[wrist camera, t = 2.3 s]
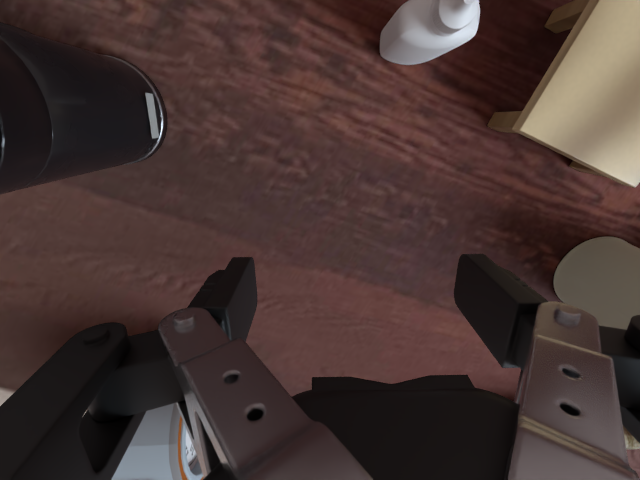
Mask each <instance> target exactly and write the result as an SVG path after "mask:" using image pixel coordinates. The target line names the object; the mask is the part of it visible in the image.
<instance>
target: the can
mask: <svg viewBox="0 0 640 480" xmlns="http://www.w3.org/2000/svg"><path fill="white" fill-rule="evenodd" d="M553 283H554V290H555V292H556V294H557V296H558V297H559V299H560V300H561V301H563V302H564V303H566V304H569V305H573V306H576V307H578V308H581V309H583V310H585V311H587V312H588V313H590V314H591V315H593V316H594V317H595V318H596V319H597V321H598V324H599V325H600V326H606V327H613V328H619V329H625V330H627V328H628V325H629V323H630V320H631V318H632V317H633V316H636V315H640V248H637V247H635V246H633V245H631V244H629V243H628V242H626V241H624V240H622V239H619V238H616V237H598V238H594V239H590V240H588V241H585V242H583V243H581V244H579V245H578V246H576V247H575V248H573V249H572V250H571V251H570V252H569V253H567V254H566V256H565V257H564V258H563V259H562V260H561V262H560V263H559V265H558V267H557V269H556V271H555V275H554V281H553Z"/></svg>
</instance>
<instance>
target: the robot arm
mask: <svg viewBox="0 0 640 480" xmlns="http://www.w3.org/2000/svg"><path fill="white" fill-rule="evenodd" d="M166 130H167V113H166V108H165V104H164V101H163V99H162V96H161V94H160V92H159V91H158V89H157V87H156V86H155V84H154V83H153V82H152V81H151V79H150V78H149V77H148V76H147V75H146V74H145V73H144V72H143V71H141V70H140V69H139V68H137V67H136V66H134V65H133V64H131V63H129V62H127V61H125V60H122V59H119V58H116V57H112V56H108V55H101V54H98V53H94V52H91V51H88V50H84V49H81V48H77V47H74V46H70V45H67V44H64V43H60V42H57V41H53V40H50V39H46V38H43V37H39V36H36V35H34V34H32V33H29V32H27V31H25V30H22V29H20V28H18V27H14V26H11V25H8V24H4V23H1V22H0V194H4V193H8V192H12V191H15V190H20V189H24V188H28V187H32V186H36V185H40V184H44V183H48V182H53V181H57V180H61V179H65V178H69V177H73V176H77V175H81V174H85V173H90V172H94V171H98V170H102V169H106V168H110V167H115V166H119V165H122V164H132V163H136V162H139V161H142V160H145V159H147V158H149V157H150V156H152V155H153V154H154V153H155V152H156V151H157V150H158V149H159V147H160V146H161V144H162V143H163V140H164V138H165V135H166ZM454 298H455V303H456V305H457V307H458V308H459V310H460V311H461V312H462V314H463V315H464V316H465V318H466V319H467V320H468V322H469V323H470V324H471V326H472V327H473V329H474V330H475V331H476V333H477V334H478V335H479V337H480V338H481V339H482V341H483V342H484V343H485V345H486V346H487V348H488V349H489V350H490V352H491V353H492V354H493V356H494V357H495V358H496V360H497V361H498V363H499V364H500V365H501V367H502V368H519V367H520V368H521V372H520V376H519V380H518V385H517V389H516V394H515V398H514V402H513V401H511V400H509V399H507V398H505V397H503V396H500V395H498V394H495V393H492V392H490V391H486V390H482V389H479V388H474V386H473V384H472V382H471V381H470V379H469V377H468V375H430V376H425V377H421V378H417V379H412V380H408V381H404V382H400V383H396V384H387V383H381V382H376V381H371V380H365V379H360V378H354V377H312V390H309V391H305V392H302V393H299V394H297V395H295V396H293V397H291V396H290V395H289V393H288V392H287V391H286V390H285V389H284V387H283V386H282V385H281V384H280V383H279V382H278V380H277V379H276V378H275V377H274V376H273V374H272V373H271V372H270V371H269V370H268V368H267V367H266V366H265V365H264V364H263V363H262V361H261V360H260V359H259V358H258V357H257V355H256V354H255V353H254V352H253V351H252V349H251V348H250V347H249V346H248V345H247V343H246V338H247V335H248V332H249V329H250V326H251V323H252V320H253V317H254V314H255V311H256V307H257V287H256V277H255V267H254V260H253V258H252V257H234V258H232V259H231V261H230V262H229V264H228V266H227V267H226V269H225V270H218V271H216V272H215V273H213V274H212V275H210V276H209V277H208V278H207V280H206V281H205V283H204V285H203V286H202V287H201V289H200V292H198V293H197V294H196V296H195V297H194V299H193V300H192V302H191V303H190V305H189V306H188V307H187V308H185V309H181V310H178V311H175V312H173V313H171V314H169V315H167V316H166V317H165V318H163V319H162V320H161V322H160V323H159V325H158V330H156V331H152V332H147V333H142V334H137V335H132V336H128V333H127V330H126V327H125V326H124V325H123V324H120V323H104V324H99V325H95V326H92V327H90V328H87V329H85V330H83V331H81V332H79V333H77V334H76V335H74V336H73V337H72V338H71V339H69V340H68V341H67V342H66V343H65V344H64V345H63V346H62V347H61V348H60V349H59V350H58V351H57V352H56V353H55V354H54V355H53V356H52V357H51V358H50V359H49V360H48V361H47V362H46V363H45V364H44V365H43V366H41V367H40V368H39V369H38V370H37V371H36V372H35V373H34V374H33V375H32V376H31V377H30V378H29V379H28V380H27V381H26V382H25V383H24V384H23V385H22V386H21V387H20V388H19V389H18V390H17V391H16V392H15V393H14V394H13V395H12V396H11V397H10V398H8V399H7V400H6V401H5V402H4V403H3V404H2V405H1V406H0V480H112V478H113V476H114V474H115V472H116V470H117V468H118V466H119V464H120V462H121V460H122V458H123V456H124V454H125V452H126V450H127V448H128V447H129V445H130V443H131V441H132V439H133V437H134V435H135V433H136V431H137V429H138V427H139V425H140V423H141V421H142V419H143V417H144V415H145V414H146V411H148V410H152V409H155V408H159V407H163V406H166V405H170V404H173V403H176V405H177V408H178V410H179V413H180V415H181V417H182V420H183V422H184V425H185V427H186V430H187V432H188V434H189V437H190V439H191V442H192V444H193V447H194V449H195V452H196V454H197V457H198V460H199V464H200V467H201V470H202V473H203V477H204V479H203V480H640V479H639V477H638V475H637V473H636V472H635V471H634V470H632V469H631V468H630V466H629V464H628V458H627V452H626V445H625V438H624V431H623V426H624V427H625V428H626V429H627V430H628V431H629V432H630V434H631V435H632V436H633V437H634V438H635V439H636V440H637V441H638V442H639V443H640V315H636V316H633V317H632V318H631V320H630V323H629V325H628V328H627V330H625V329H619V328H613V327H606V326H600V325H599V324H598V321H597V319H596V318H595V317H594V316H593V315H591V314H590V313H588V312H587V311H585V310H583V309H581V308H578V307H576V306H573V305H569V304H565V303H560V302H548V301H547V300H546V299H545V298H543V297H542V296H541V295H540V294H538V293H537V292H536V291H535V290H533V289H532V288H531V287H528V285H527V284H526V283H525V282H523V281H521V280H520V278H518V277H517V276H516V275H515V274H513V273H512V272H510V271H508V270H506V269H504V268H502V267H500V266H498V265H497V264H495V263H494V262H493V261H492V260H490V259H489V258H488V257H487V256H486V255H484V254H462V255H461V256H460V258H459V263H458V269H457V275H456V282H455V288H454ZM87 408H88V410H87ZM86 410H87V412H86V413H85V411H86ZM84 413H85V415H84ZM83 415H84V416H83Z"/></svg>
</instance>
